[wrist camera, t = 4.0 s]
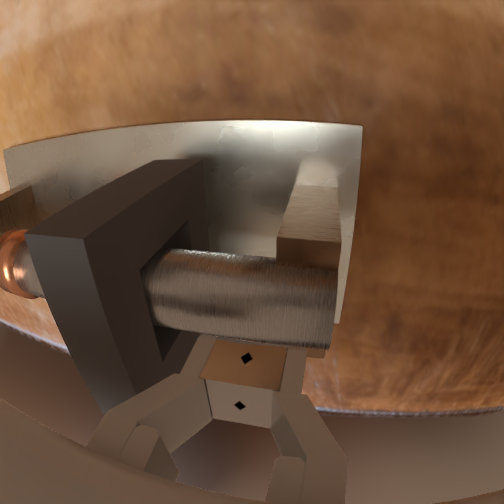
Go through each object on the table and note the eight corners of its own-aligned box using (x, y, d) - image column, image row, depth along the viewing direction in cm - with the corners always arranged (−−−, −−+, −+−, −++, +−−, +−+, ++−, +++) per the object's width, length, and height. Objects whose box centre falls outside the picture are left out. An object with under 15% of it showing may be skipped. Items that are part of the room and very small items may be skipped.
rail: (360, 124, 14) (398, 159, 6) (339, 314, 19) (334, 433, 12) (10, 147, 18) (-74, 184, 11) (41, 271, 24) (-22, 327, 16)
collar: (203, 158, 13) (83, 239, 7) (215, 308, 17) (153, 431, 10) (154, 159, 14) (23, 233, 7) (174, 302, 18) (103, 413, 11)
